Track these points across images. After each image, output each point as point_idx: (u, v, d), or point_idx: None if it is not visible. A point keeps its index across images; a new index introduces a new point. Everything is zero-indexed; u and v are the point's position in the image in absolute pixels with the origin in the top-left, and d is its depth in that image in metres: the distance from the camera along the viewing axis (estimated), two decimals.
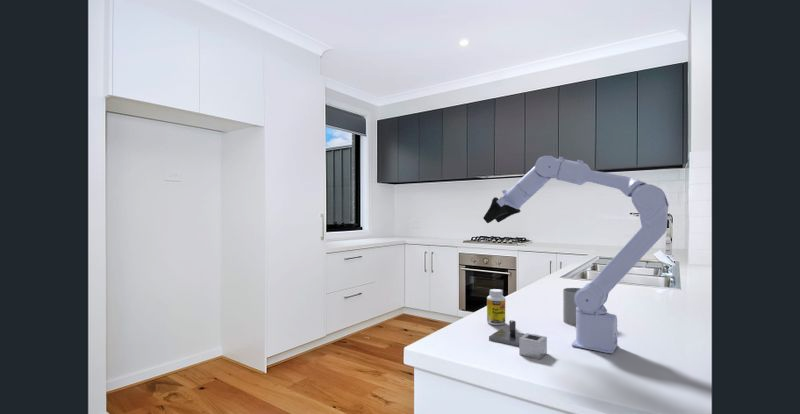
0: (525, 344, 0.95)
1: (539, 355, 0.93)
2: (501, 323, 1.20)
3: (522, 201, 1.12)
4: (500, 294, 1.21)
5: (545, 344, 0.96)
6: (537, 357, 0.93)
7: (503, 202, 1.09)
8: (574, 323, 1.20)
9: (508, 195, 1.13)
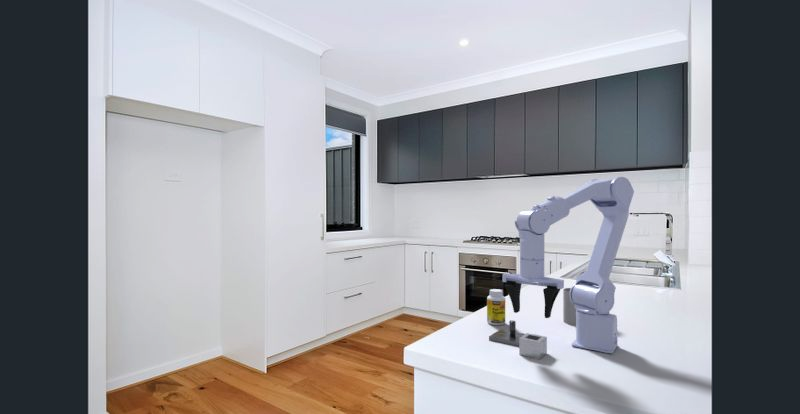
0: (525, 344, 0.95)
1: (539, 355, 0.93)
2: (501, 323, 1.20)
3: None
4: (500, 294, 1.21)
5: (545, 344, 0.96)
6: (537, 357, 0.93)
7: (563, 282, 0.93)
8: (574, 323, 1.20)
9: (540, 276, 0.94)
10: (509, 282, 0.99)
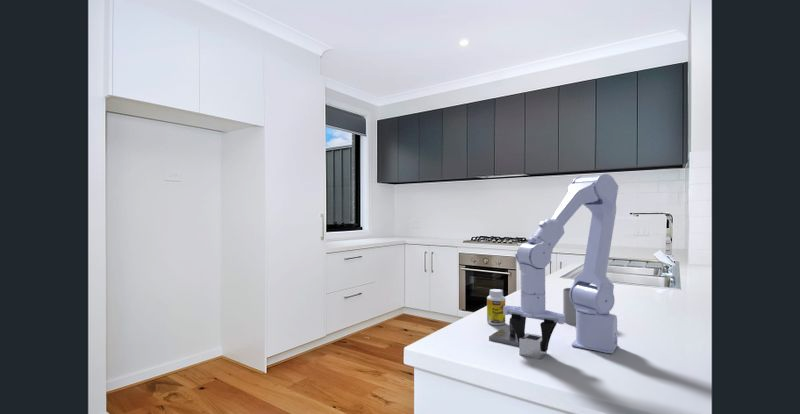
0: (525, 344, 0.95)
1: (539, 355, 0.93)
2: (501, 323, 1.20)
3: None
4: (500, 294, 1.21)
5: None
6: (537, 357, 0.93)
7: (564, 317, 0.93)
8: (574, 323, 1.20)
9: (542, 310, 0.94)
10: None
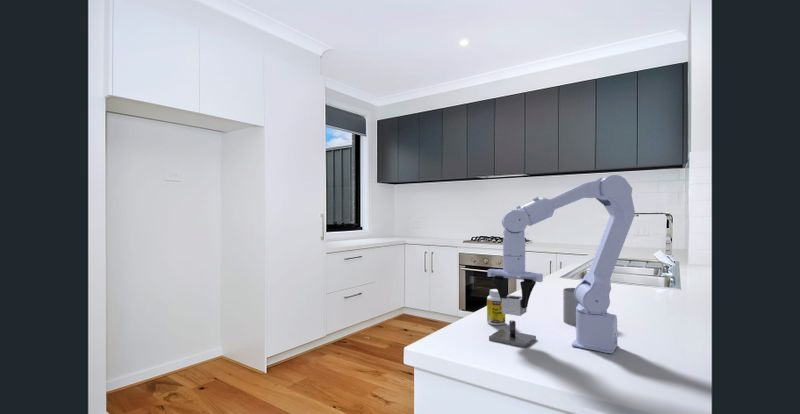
0: (507, 303, 1.04)
1: (519, 312, 1.02)
2: (501, 323, 1.20)
3: None
4: None
5: None
6: (517, 314, 1.03)
7: (542, 276, 1.02)
8: (574, 323, 1.20)
9: (522, 271, 1.03)
10: None
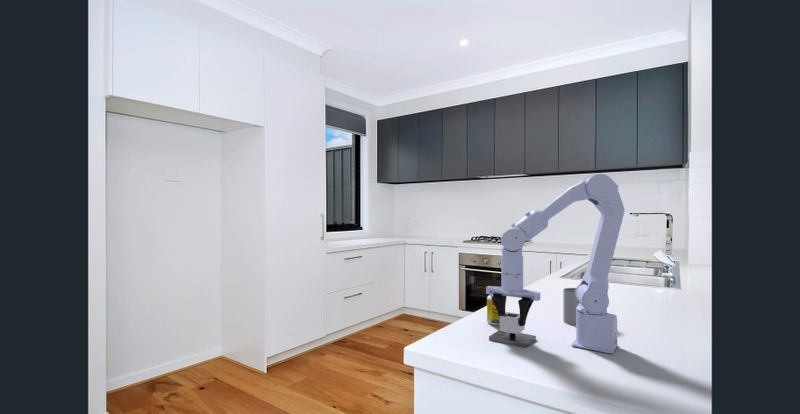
0: (505, 321, 1.05)
1: (517, 330, 1.04)
2: None
3: None
4: None
5: None
6: (515, 332, 1.04)
7: None
8: (574, 323, 1.20)
9: (520, 289, 1.05)
10: None
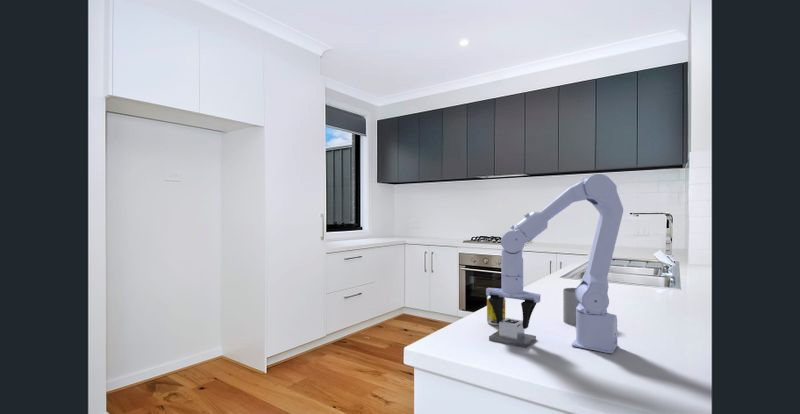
0: (504, 327, 1.06)
1: (516, 337, 1.04)
2: None
3: None
4: None
5: (522, 327, 1.06)
6: (514, 338, 1.04)
7: None
8: (574, 323, 1.20)
9: (520, 291, 1.05)
10: (492, 296, 1.10)
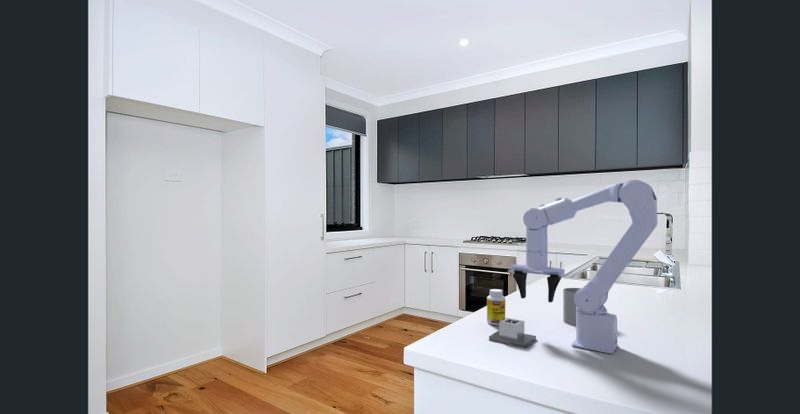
0: (504, 327, 1.06)
1: (516, 337, 1.04)
2: None
3: None
4: (500, 294, 1.21)
5: (522, 327, 1.06)
6: (514, 338, 1.04)
7: (564, 271, 1.07)
8: (574, 323, 1.20)
9: (544, 266, 1.09)
10: (516, 272, 1.14)
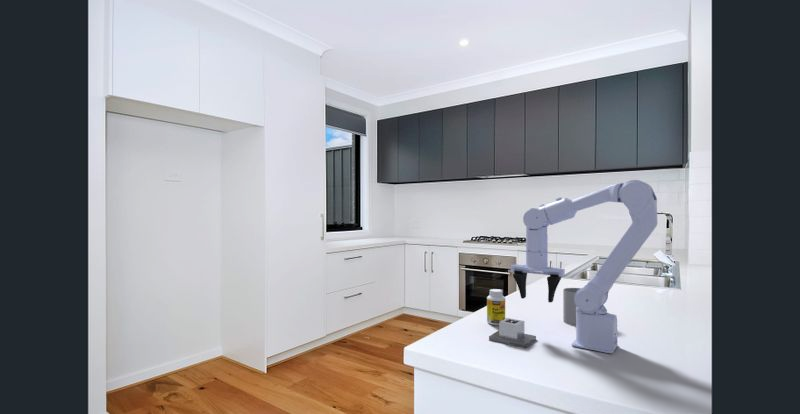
0: (504, 327, 1.06)
1: (516, 337, 1.04)
2: None
3: None
4: (500, 294, 1.21)
5: (522, 327, 1.06)
6: (514, 338, 1.04)
7: (564, 271, 1.07)
8: (574, 323, 1.20)
9: (544, 266, 1.09)
10: (516, 272, 1.14)
